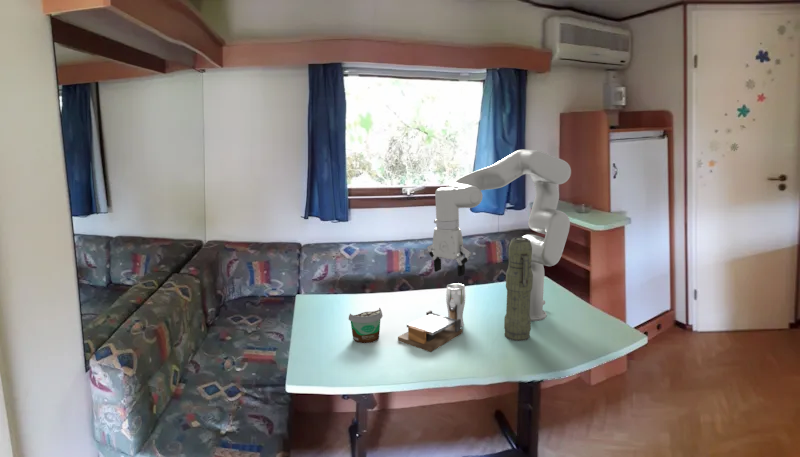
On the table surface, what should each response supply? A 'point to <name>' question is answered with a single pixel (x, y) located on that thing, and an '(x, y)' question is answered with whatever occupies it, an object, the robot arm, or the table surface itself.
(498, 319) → the table surface
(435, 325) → the grey marble tile
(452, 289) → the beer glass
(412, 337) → the plate
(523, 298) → the thermos
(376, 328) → the food container
